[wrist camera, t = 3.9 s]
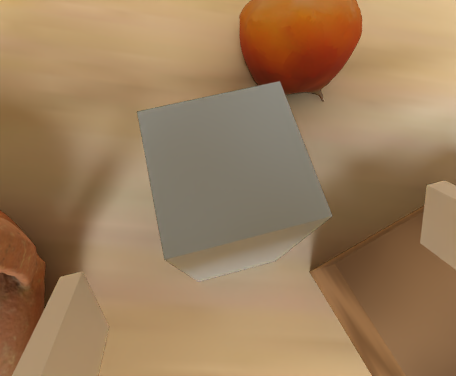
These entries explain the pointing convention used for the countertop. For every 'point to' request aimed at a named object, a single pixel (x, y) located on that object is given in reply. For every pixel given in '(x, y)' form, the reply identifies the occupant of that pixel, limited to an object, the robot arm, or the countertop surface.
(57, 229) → the countertop surface
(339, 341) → the countertop surface
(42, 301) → the ceramic jug
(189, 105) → the pillar
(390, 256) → the walnut slab
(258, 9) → the fruit
